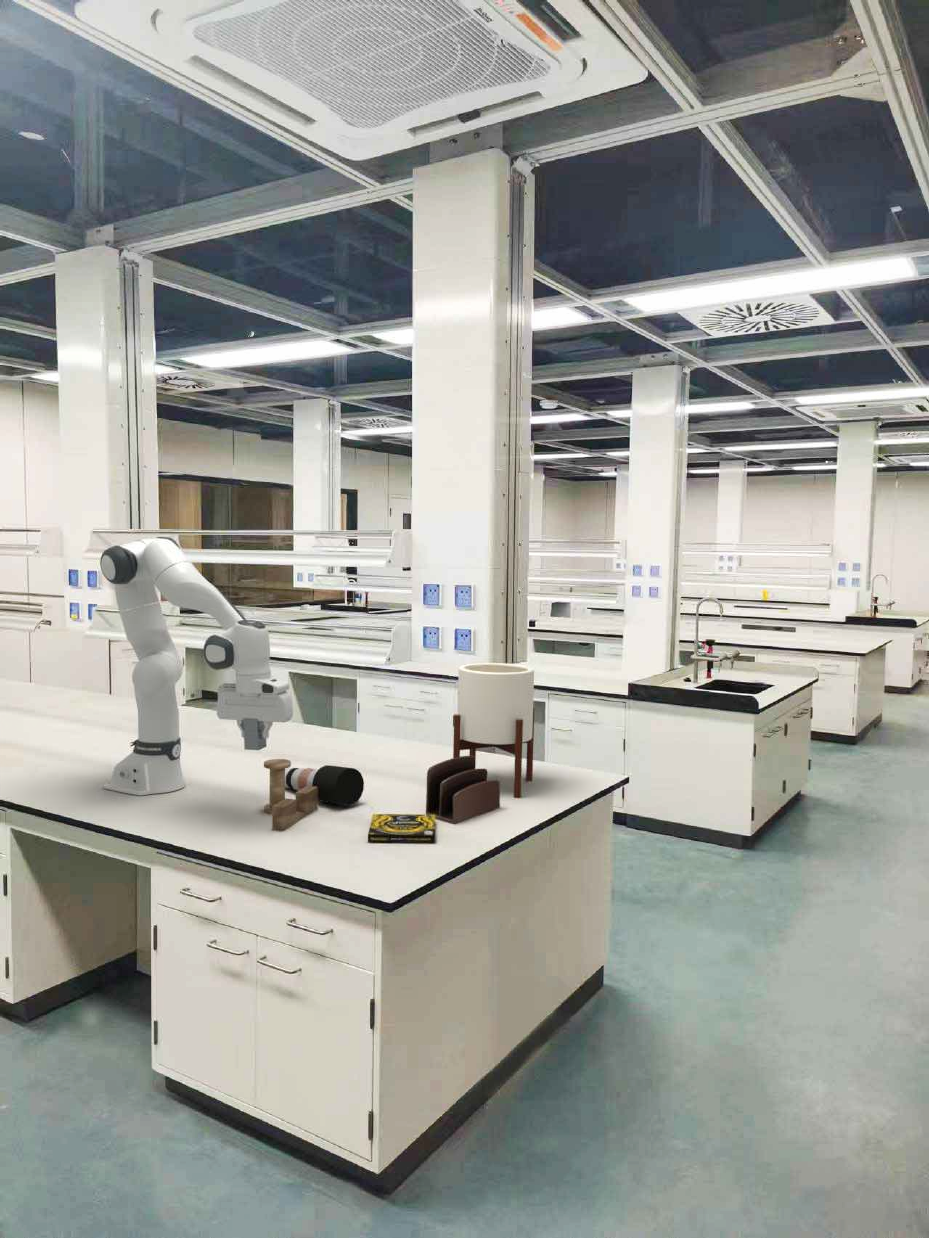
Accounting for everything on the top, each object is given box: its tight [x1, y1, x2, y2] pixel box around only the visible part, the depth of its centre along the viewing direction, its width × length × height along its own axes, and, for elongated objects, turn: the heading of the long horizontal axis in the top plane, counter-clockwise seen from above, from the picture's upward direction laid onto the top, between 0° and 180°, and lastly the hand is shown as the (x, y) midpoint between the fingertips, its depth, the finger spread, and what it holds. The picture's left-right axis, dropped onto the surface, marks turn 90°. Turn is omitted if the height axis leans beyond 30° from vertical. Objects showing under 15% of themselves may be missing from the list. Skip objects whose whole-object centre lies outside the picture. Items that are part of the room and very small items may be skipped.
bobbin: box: [263, 758, 292, 815], centre depth 224 cm, size 7×7×13 cm
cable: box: [285, 765, 365, 806], centre depth 239 cm, size 10×34×10 cm, turn 45°
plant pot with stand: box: [452, 662, 535, 799], centre depth 252 cm, size 22×22×36 cm
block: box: [243, 718, 267, 751], centre depth 215 cm, size 4×4×8 cm
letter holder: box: [425, 755, 501, 825], centre depth 226 cm, size 10×20×14 cm, turn 140°
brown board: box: [271, 786, 319, 832], centre depth 217 cm, size 3×20×6 cm, turn 164°
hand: (255, 737), depth 215 cm, fingers closed on block, 4 cm apart
